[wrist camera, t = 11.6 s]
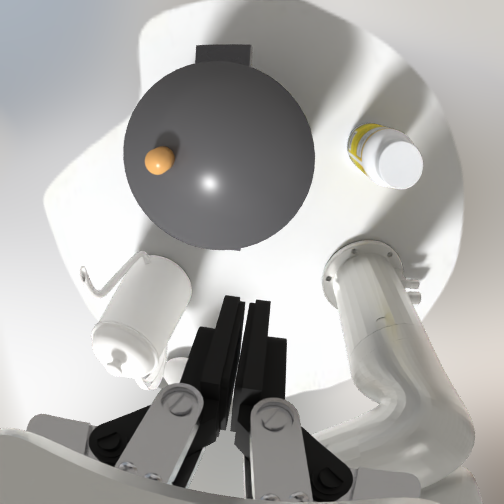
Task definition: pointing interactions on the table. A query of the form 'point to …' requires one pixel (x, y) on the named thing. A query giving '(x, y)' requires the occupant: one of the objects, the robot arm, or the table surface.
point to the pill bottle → (385, 155)
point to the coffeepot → (139, 316)
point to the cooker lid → (219, 155)
